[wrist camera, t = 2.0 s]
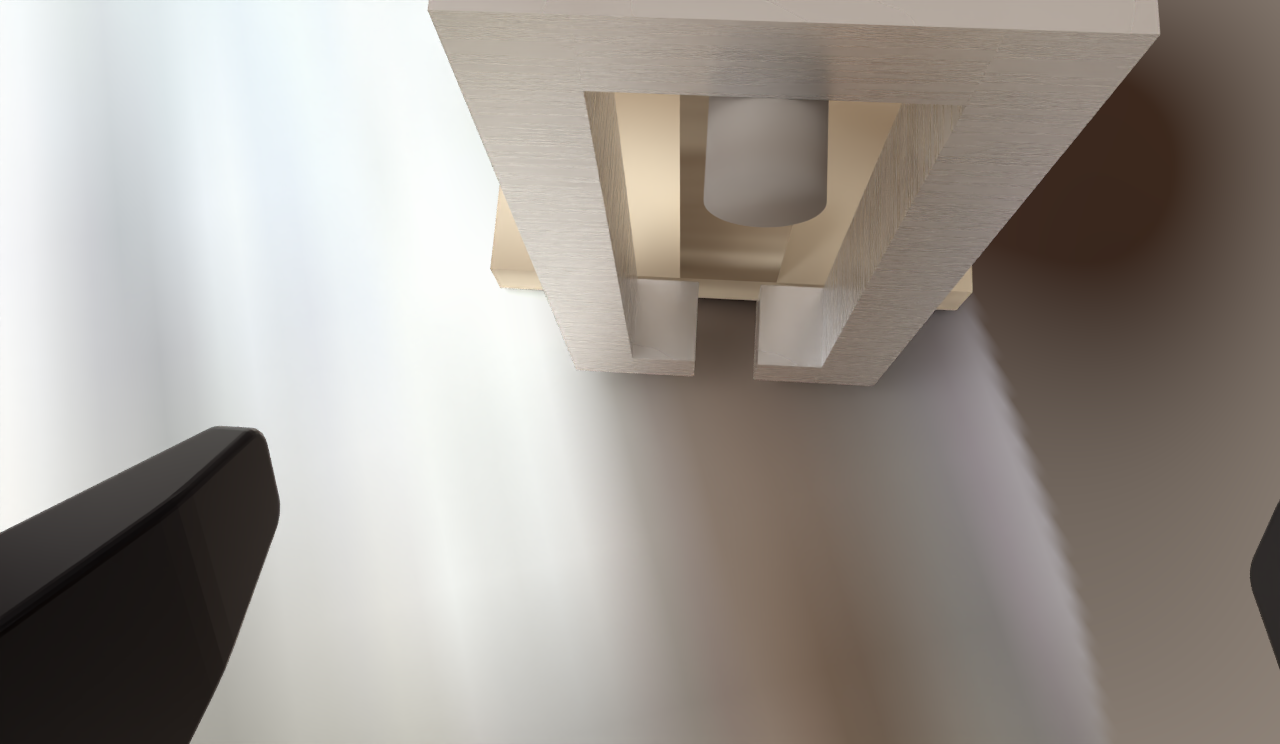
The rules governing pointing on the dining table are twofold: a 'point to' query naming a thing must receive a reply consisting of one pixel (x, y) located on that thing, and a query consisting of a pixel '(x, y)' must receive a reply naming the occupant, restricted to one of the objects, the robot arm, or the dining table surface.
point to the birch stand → (735, 191)
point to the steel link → (787, 69)
